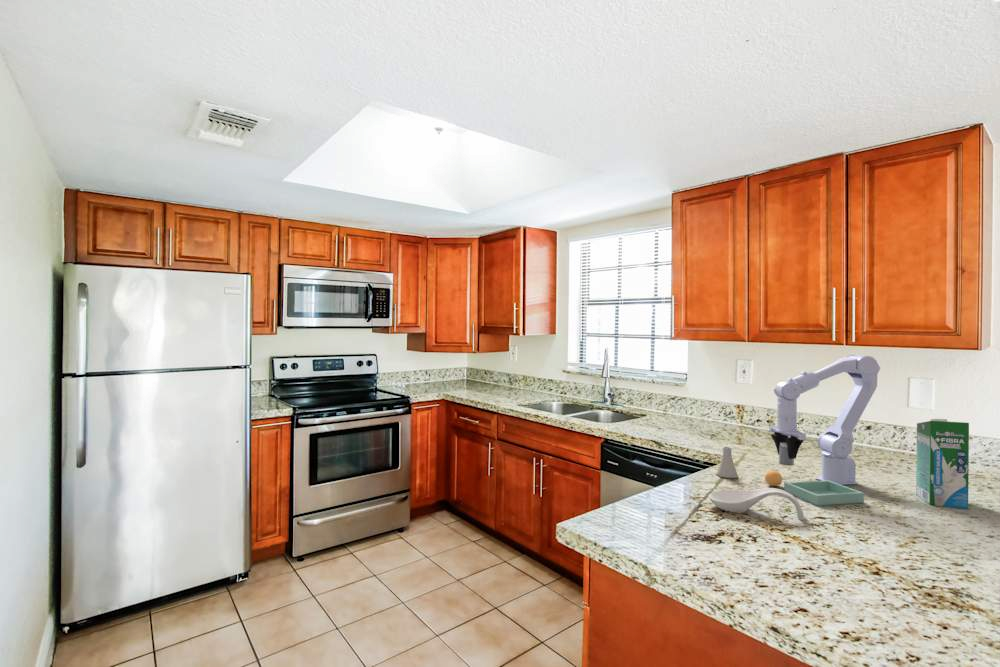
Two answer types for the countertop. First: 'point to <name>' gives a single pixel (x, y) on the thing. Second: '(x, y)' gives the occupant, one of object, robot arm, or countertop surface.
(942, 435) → the milk carton
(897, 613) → the countertop surface
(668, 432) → the countertop surface
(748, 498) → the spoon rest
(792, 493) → the tray
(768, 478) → the ball
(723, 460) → the flask
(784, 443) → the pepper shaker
